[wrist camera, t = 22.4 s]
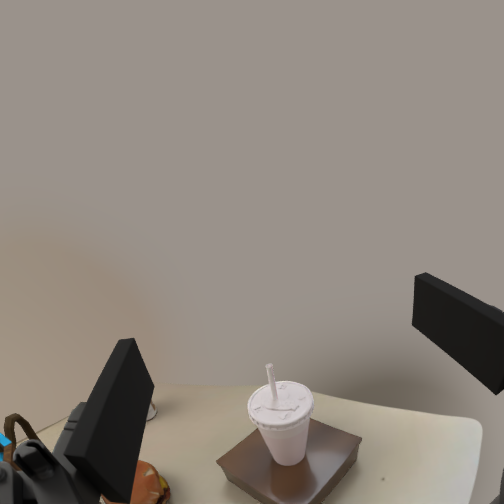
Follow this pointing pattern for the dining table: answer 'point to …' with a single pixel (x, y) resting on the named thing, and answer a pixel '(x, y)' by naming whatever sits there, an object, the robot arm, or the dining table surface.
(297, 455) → the smoothie
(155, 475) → the burger
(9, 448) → the mug
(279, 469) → the walnut box
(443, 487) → the dining table surface
